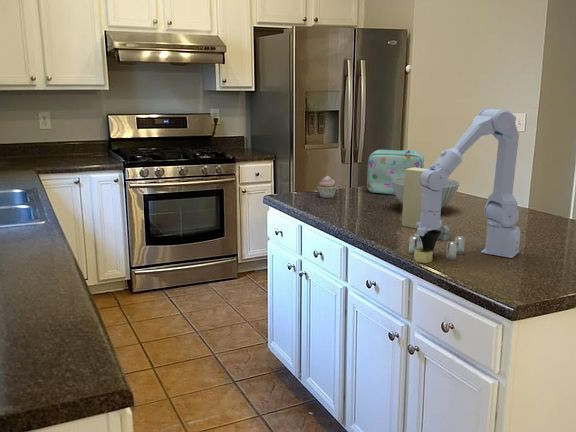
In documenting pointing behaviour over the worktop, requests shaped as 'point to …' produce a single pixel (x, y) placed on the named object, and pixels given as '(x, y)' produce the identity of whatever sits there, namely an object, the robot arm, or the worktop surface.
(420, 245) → the cylinder
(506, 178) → the robot arm
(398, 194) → the decorative bowl
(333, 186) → the cupcake
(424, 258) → the nut
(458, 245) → the cylinder
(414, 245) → the cylinder
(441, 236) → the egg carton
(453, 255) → the cylinder
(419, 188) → the beige rectangular block
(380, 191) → the lunch box
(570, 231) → the worktop surface
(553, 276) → the worktop surface
